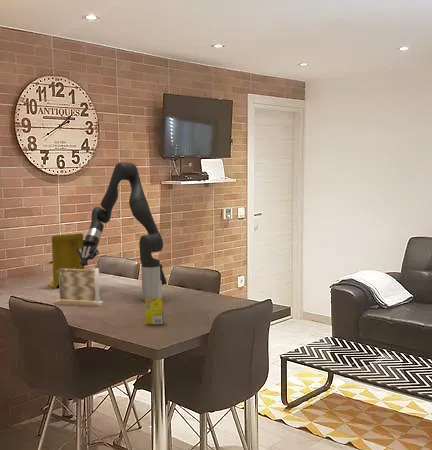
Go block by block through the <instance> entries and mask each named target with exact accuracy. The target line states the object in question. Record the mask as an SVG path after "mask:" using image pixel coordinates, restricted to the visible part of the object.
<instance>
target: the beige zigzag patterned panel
mask: <svg viewBox="0 0 432 450" xmlns="http://www.w3.org/2000/svg"><path fill="white" fill-rule="evenodd" d="M94 270H95V269H90V268H89V269H87V268H86V269H85V268H84V269H63V268H59V285H58V286H59V299H64V300H84V301H96V298H95V271H94Z"/></svg>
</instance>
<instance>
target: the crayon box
mask: <svg viewBox="0 0 432 450" xmlns="http://www.w3.org/2000/svg"><path fill="white" fill-rule="evenodd" d="M150 299H157V300H156V301H150ZM162 299H163V297H162V298H145V301H144V309H145V310H144V313H145V325H163V324H164V304H163V301H164V300H162Z"/></svg>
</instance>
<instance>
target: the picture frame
mask: <svg viewBox="0 0 432 450" xmlns="http://www.w3.org/2000/svg"><path fill="white" fill-rule="evenodd" d="M94 270H95V271H94V277H95V301H85V300H65V299H60V298H57V299H56V300H53V301H52V305H66V306H69V305H70V306H88V307H90V306H91V307H100V306H102V305H104V300H101V299H100V298H101V296H100V269H99V268H98V267H94Z"/></svg>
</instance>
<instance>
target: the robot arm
mask: <svg viewBox="0 0 432 450" xmlns="http://www.w3.org/2000/svg"><path fill="white" fill-rule="evenodd" d="M121 181H128V182H129V185H130V190H131V191H130V195H129V199H128V204H129V205H128V206H129V209H130V210H131V211H130V212H131V214H132V216H133V218H134V219H136V220H137V222H139V223H140V225H141V226H143V228H144V229H145V230H146V232H147V234H144V235H141V236H140V238H139V243H138V247H139V258H140V263H141V294H142V295H141V299H142V301H144V302H145V298H162V299H163V289H162V287H163V285H162V281H161V280H160V264H161V262H160V259H158V258H154V257H153V256H152V255H153V253H159V252H161V251H162V250H164V249H163V248H164V241H163V238H162V235H161V232H160V230H159V229H158V226H157V224H156V222H155V220H154V218H153V215H152V211H151V209H150V205H149V203H148V200H147V197H146V195H145V191H144V190H143V189H144V188H143V186H142V182H141V178H140V173H139V170H138V167H137V166H136V164H135V163H134V162H124V161H121V162H118V163H116V165H115V167H114V168H113V172H112V175H111V177H110V181H109V183H108V187H107V190H106V192H105V194H104V196H103V198H102V199H101V202H100V206H101V207H99V206H95V207H94V208H93V209H92V212H91V220H90V221H91V222H90V225H89V228H88V231H87V232H86V234H85V236H86V237H85V236H84V239H83V240H84V242H83V246H82V247H81V249H79V250H78V249H76V251H77V253H78V255H79V257H80V258H81V259H82V260H81V262H80V263H81V265H82V266H84V267H86V266H85V265H86V264H87V261H90V260H91V261H92V260H93V259H94V258H95V257H97V256H98V255H99V254H100V251H99V250H98V245H99V243H100V240H101V237H102V233H103V230H104V227H105V226H104V224H108V223H109V222H110V221H111V218H112V212H113V209H114V206H115V205H116V203H117V201H118V198H119V189H118V186H119V184H120V182H121ZM81 251H82V252H83V255H81ZM156 300H157V299H150V301H156Z"/></svg>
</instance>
